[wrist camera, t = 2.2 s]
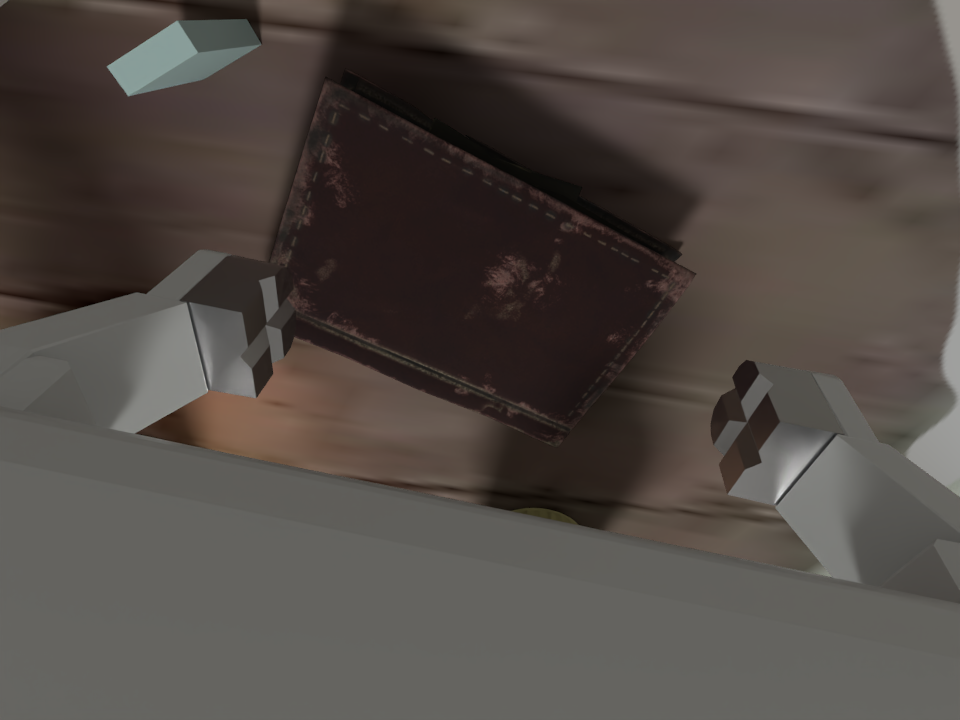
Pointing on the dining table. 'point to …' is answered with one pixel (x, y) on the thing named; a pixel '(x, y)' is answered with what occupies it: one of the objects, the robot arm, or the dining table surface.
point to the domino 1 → (3, 2)
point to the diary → (463, 265)
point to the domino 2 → (183, 54)
